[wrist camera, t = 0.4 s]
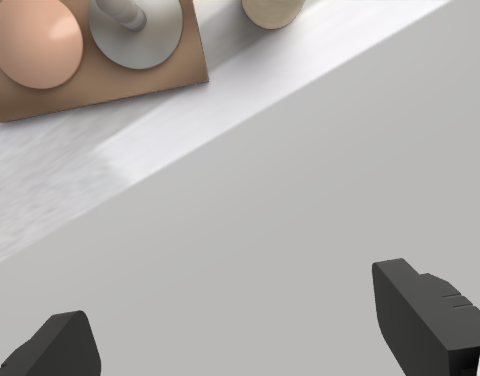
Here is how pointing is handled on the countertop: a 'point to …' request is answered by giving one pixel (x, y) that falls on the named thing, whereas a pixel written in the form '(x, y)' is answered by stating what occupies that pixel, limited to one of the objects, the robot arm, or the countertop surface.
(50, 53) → the pad
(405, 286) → the robot arm
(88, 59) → the board
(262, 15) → the candle
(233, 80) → the countertop surface
